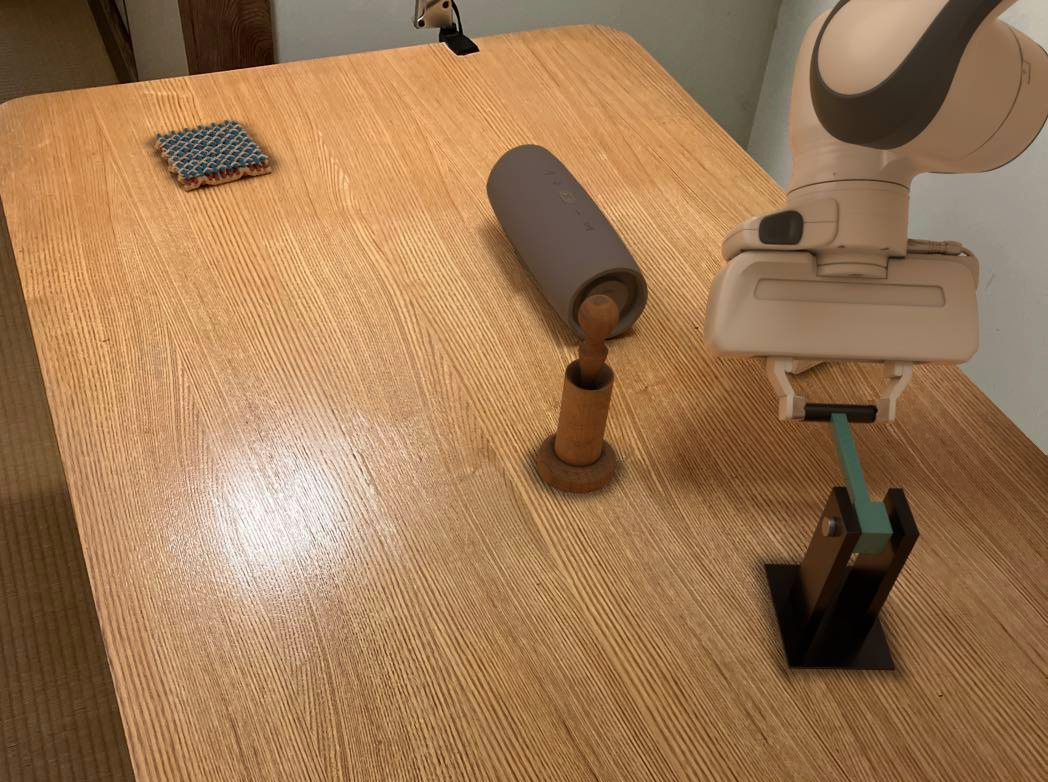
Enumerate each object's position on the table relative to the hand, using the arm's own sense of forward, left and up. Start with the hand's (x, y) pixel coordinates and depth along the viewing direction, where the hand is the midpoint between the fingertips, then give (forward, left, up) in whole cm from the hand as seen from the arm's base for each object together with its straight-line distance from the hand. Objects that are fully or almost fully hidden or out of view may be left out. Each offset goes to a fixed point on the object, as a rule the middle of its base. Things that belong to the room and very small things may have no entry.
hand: (835, 422), depth 81 cm
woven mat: (+78, -8, -12) cm, 79 cm away
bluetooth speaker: (+35, -15, -12) cm, 40 cm away
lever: (-3, +4, -1) cm, 5 cm away
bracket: (-6, +8, -12) cm, 15 cm away
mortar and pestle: (+18, +7, -12) cm, 22 cm away
